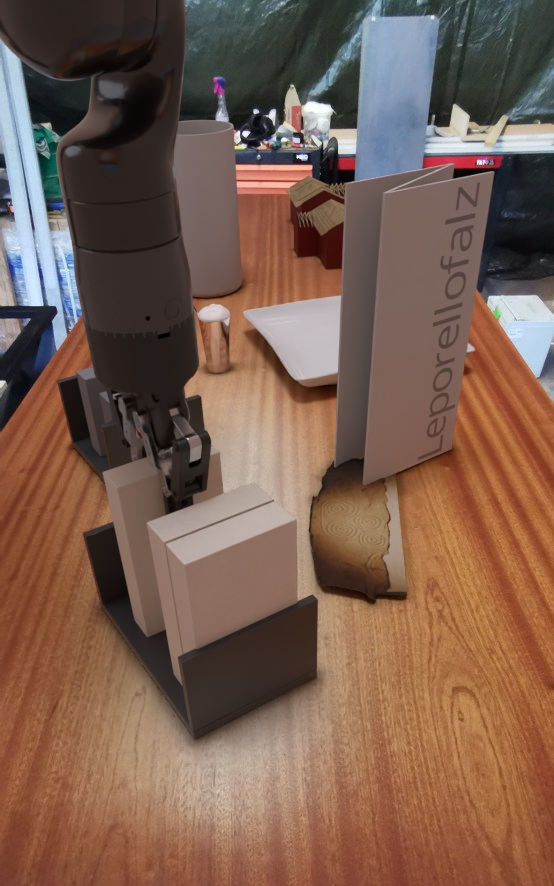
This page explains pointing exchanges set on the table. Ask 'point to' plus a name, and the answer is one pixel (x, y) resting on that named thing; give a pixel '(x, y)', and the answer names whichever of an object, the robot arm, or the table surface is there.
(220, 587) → the book holder
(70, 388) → the grey rack
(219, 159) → the cylinder vase
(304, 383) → the square plate
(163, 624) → the white book
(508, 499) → the table surface
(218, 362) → the milkshake
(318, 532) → the parchment
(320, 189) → the toy houses
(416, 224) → the brochure
